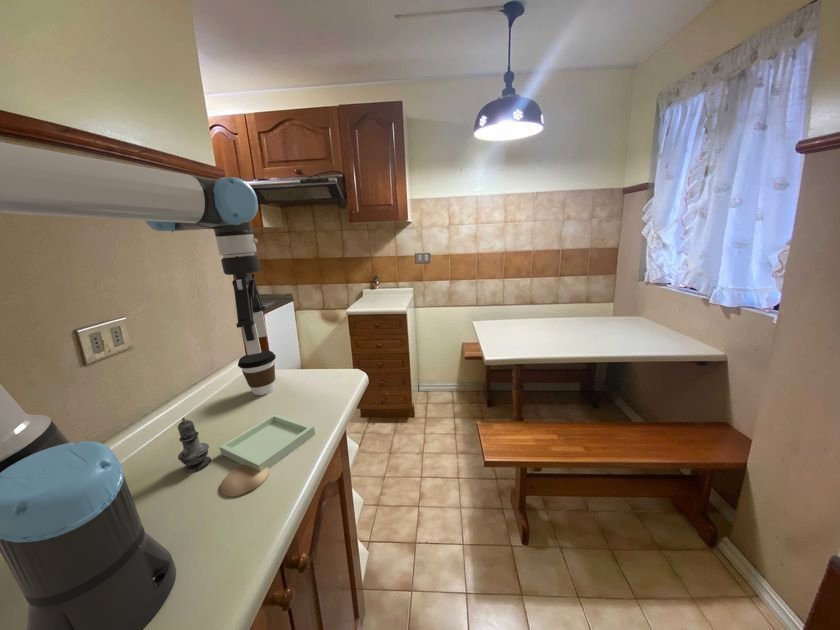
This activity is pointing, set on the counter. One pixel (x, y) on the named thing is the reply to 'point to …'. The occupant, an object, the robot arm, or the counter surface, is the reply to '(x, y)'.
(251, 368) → the coffee cup
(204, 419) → the counter surface
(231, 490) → the cork coaster
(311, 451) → the counter surface
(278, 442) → the tray
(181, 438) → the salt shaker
